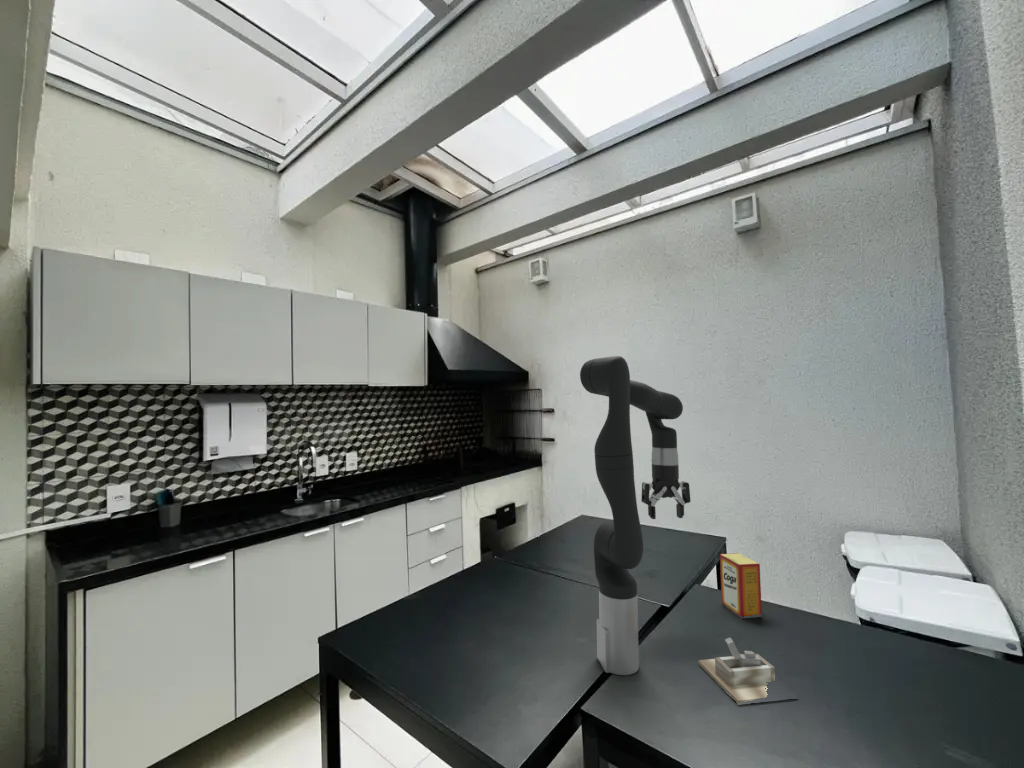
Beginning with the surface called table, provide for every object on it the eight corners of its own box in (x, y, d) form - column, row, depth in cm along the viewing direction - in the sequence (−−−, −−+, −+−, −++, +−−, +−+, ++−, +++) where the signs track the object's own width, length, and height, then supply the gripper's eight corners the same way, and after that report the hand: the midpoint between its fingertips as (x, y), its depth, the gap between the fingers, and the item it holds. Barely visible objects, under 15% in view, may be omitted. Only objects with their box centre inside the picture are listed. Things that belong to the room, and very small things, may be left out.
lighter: (757, 674, 94) (756, 638, 94) (761, 679, 92) (760, 642, 93) (725, 672, 94) (724, 636, 95) (728, 677, 93) (727, 640, 93)
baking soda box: (721, 604, 130) (719, 552, 131) (740, 602, 131) (738, 551, 132) (741, 619, 121) (739, 563, 122) (761, 617, 121) (759, 562, 122)
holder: (738, 705, 85) (737, 685, 85) (698, 664, 99) (697, 647, 99) (797, 699, 87) (796, 679, 87) (750, 659, 101) (749, 642, 101)
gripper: (648, 464, 117) (649, 522, 115) (694, 463, 119) (696, 520, 117) (636, 461, 124) (637, 515, 123) (680, 460, 126) (681, 514, 125)
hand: (666, 518), depth 120 cm, fingers open, 8 cm apart
